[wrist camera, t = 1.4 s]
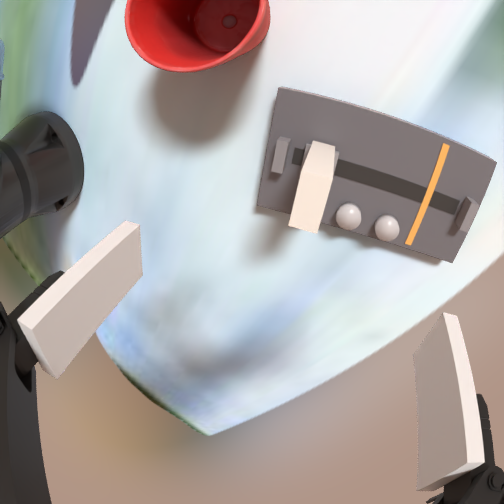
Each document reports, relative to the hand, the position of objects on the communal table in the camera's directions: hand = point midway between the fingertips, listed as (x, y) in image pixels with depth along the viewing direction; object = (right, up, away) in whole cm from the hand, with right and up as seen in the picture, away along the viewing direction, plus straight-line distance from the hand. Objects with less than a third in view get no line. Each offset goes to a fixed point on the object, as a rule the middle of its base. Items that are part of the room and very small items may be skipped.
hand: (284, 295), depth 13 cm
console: (+11, +9, +16) cm, 22 cm away
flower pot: (-3, +24, +12) cm, 27 cm away
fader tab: (+5, +10, +15) cm, 19 cm away
